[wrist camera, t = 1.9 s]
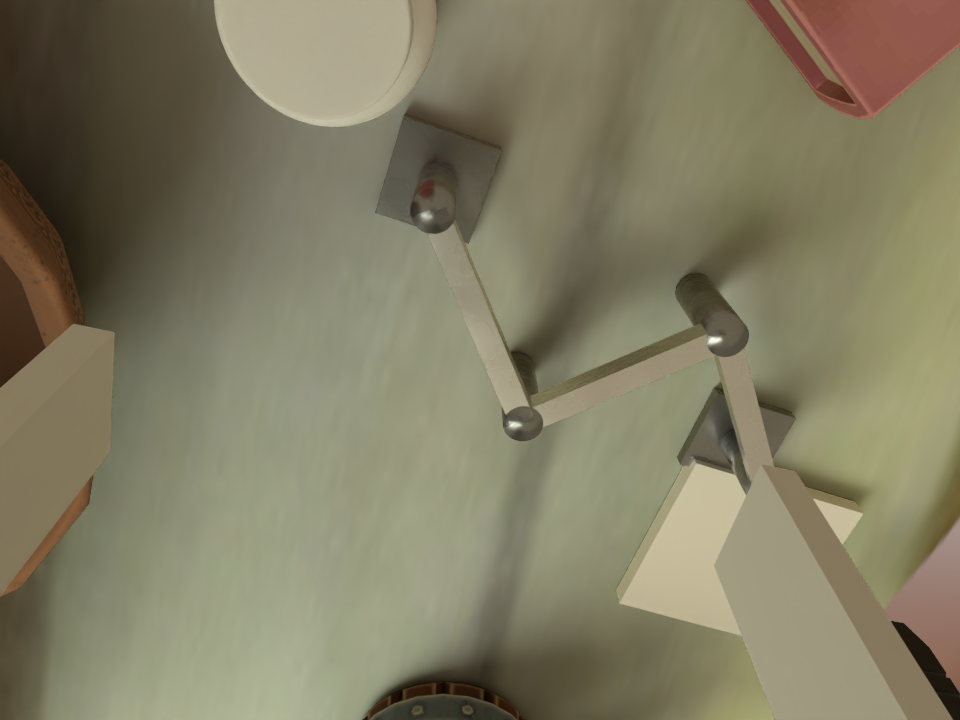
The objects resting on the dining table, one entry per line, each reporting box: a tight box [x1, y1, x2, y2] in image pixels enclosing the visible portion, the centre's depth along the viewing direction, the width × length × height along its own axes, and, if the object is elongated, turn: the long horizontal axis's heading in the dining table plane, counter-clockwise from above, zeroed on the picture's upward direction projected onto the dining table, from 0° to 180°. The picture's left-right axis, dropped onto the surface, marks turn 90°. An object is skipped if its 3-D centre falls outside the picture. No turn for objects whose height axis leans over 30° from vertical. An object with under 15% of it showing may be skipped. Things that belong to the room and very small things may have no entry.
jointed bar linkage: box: [375, 114, 796, 495], centre depth 33 cm, size 21×11×5 cm, turn 71°
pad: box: [616, 459, 864, 636], centre depth 40 cm, size 9×9×1 cm
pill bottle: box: [214, 0, 437, 127], centre depth 24 cm, size 6×6×11 cm
